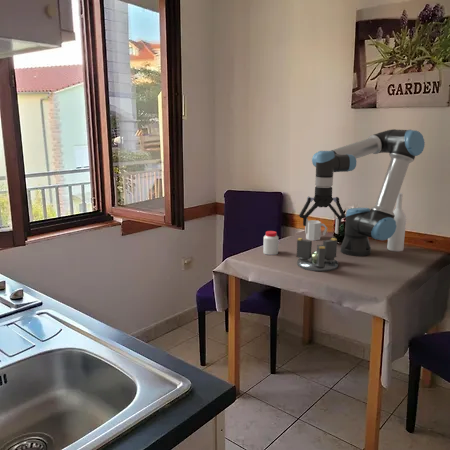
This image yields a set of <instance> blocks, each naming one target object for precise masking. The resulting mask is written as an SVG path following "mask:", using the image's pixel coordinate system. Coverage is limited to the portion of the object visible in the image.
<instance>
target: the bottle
mask: <svg viewBox="0 0 450 450" xmlns="http://www.w3.org/2000/svg"><path fill="white" fill-rule="evenodd" d="M403 194H404V193H403V192H399V195H398V198H397V201H396V203H395V207H394V209H393V213H394V215H395V217H394V220H395V221H396V230H395V232H394V234H393V235H392V236H391V237H390V238H388V239H387V243H386V244H387V246H386V247H387V250H389V251H391V252H403V251H404V246H405V235H406V225H407V216H406V213H405V211H404V210H403Z"/></svg>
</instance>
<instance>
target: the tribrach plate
mask: <svg viewBox="0 0 450 450" xmlns="http://www.w3.org/2000/svg"><path fill="white" fill-rule="evenodd" d="M316 263H317V250H314V251H313V252H312V251H311V258H310V259H308V260H300V259H299V258H297V266H298V268H301V269H303V270H306V271H311V272H330V271H334V270H337V269H338V268H339V261H338V260H336V259H335V258H334V260H324V264H325V267H322V268H320V267H316V266H315V264H316Z"/></svg>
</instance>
